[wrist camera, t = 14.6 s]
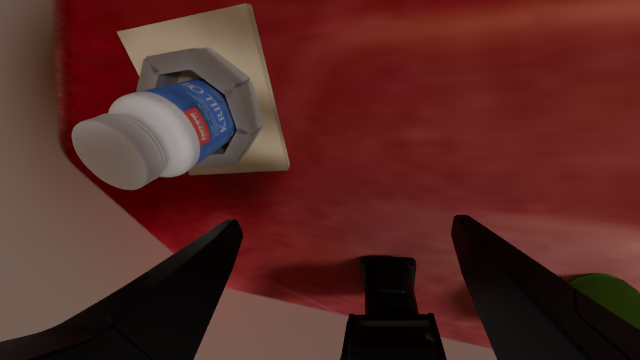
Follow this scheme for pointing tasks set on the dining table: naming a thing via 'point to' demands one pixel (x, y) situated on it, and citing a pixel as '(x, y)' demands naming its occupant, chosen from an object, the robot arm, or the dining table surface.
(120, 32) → the collar
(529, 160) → the dining table surface
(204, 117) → the pill bottle
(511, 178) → the dining table surface
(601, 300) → the cup
